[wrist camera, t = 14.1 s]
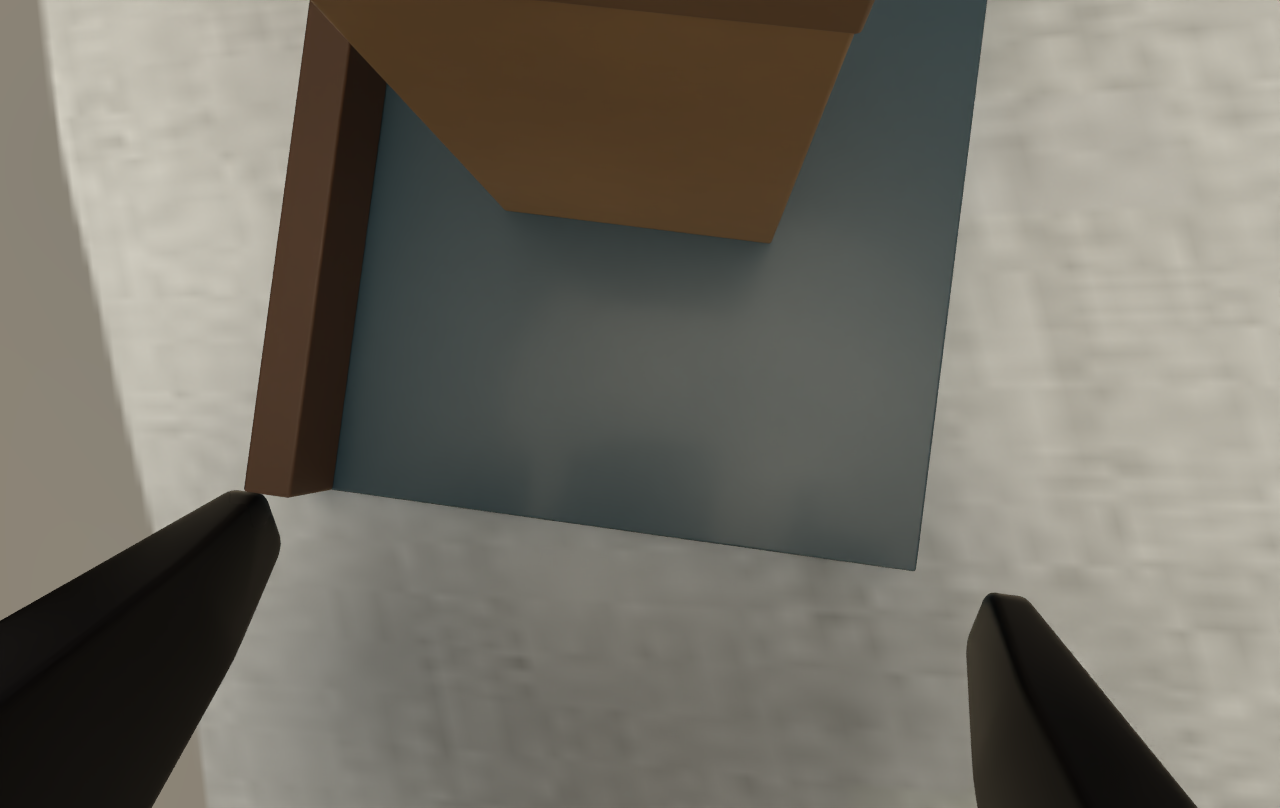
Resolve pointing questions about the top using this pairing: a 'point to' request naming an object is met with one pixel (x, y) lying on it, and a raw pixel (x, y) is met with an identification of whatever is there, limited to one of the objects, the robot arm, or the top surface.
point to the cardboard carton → (617, 99)
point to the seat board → (625, 321)
